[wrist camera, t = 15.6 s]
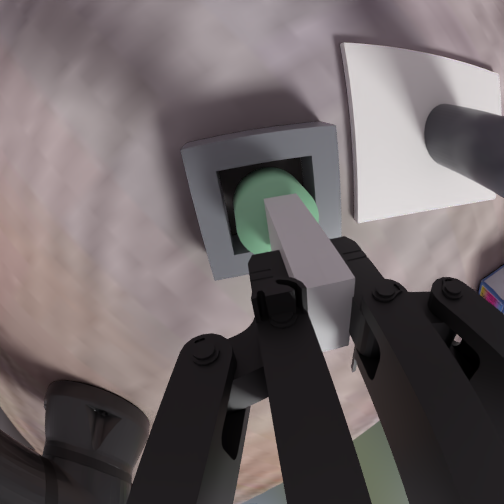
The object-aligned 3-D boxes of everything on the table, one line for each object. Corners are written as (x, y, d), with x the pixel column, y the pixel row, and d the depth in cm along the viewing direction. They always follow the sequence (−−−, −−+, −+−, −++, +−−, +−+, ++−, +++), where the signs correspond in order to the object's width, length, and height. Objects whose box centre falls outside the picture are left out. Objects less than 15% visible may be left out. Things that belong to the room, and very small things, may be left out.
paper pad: (354, 219, 19) (357, 223, 18) (339, 44, 13) (343, 42, 12) (491, 196, 19) (495, 199, 18) (494, 73, 13) (498, 74, 12)
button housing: (214, 259, 19) (214, 280, 17) (186, 142, 15) (180, 149, 13) (328, 237, 19) (341, 255, 17) (320, 121, 15) (335, 125, 13)
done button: (240, 238, 17) (244, 265, 14) (227, 174, 15) (228, 190, 12) (305, 226, 17) (320, 251, 14) (299, 162, 15) (315, 176, 12)
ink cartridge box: (477, 278, 25) (459, 350, 31) (505, 306, 20) (477, 375, 27) (520, 249, 24) (500, 321, 31) (546, 270, 19) (518, 343, 26)
